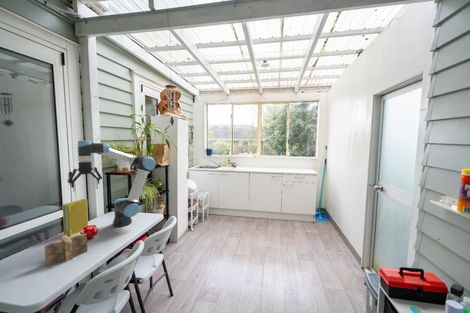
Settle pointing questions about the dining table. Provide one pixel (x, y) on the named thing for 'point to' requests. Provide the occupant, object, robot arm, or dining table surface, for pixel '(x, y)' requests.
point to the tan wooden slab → (67, 247)
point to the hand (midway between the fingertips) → (86, 190)
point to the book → (75, 216)
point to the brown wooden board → (57, 253)
